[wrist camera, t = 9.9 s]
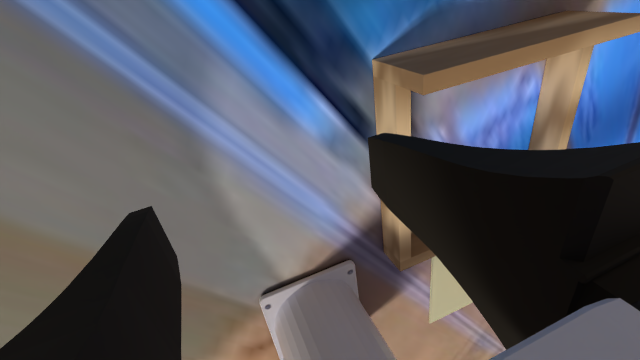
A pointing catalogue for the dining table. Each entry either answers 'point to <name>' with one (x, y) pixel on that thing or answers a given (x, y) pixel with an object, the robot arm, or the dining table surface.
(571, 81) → the cold frame
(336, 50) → the dining table surface
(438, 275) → the potting mat
